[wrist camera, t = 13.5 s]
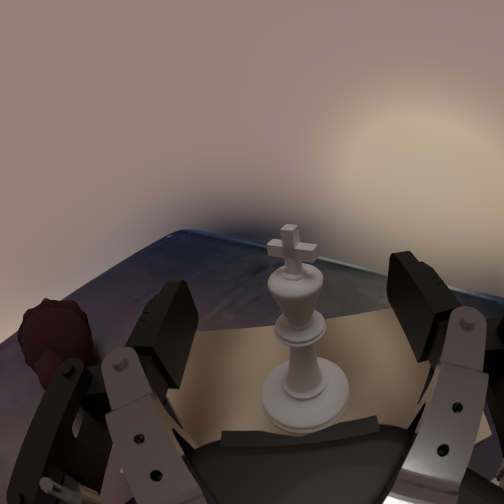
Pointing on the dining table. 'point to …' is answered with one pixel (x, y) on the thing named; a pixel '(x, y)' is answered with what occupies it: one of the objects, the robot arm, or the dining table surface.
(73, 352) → the dark brown lumpy figurine
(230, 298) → the dining table surface
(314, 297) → the chess piece
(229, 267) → the dining table surface
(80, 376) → the robot arm
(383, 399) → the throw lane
